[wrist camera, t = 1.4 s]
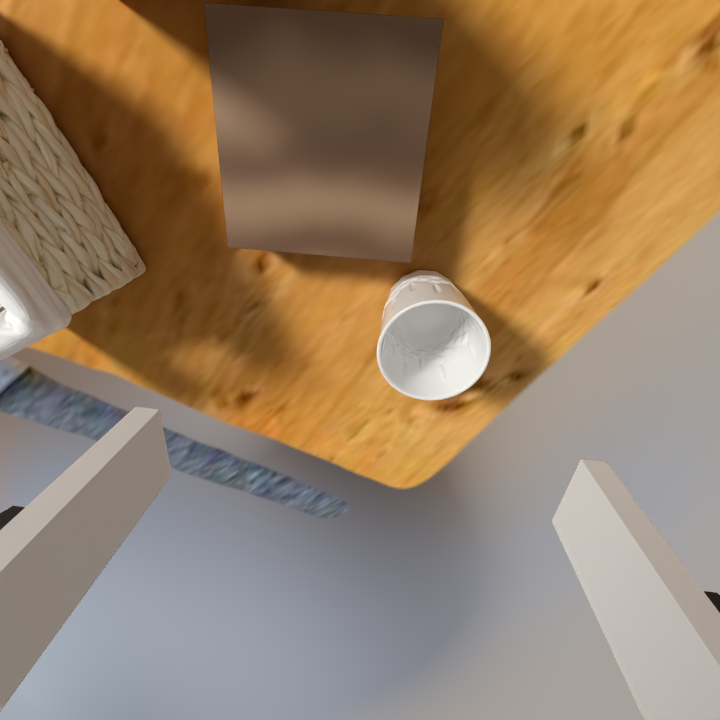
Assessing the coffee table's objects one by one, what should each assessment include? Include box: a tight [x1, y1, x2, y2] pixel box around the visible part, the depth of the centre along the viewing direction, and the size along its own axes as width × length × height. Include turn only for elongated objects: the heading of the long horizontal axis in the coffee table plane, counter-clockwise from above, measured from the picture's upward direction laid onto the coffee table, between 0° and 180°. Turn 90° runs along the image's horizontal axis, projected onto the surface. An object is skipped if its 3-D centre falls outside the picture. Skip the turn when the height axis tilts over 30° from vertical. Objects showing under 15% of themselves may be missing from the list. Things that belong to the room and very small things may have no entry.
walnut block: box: [204, 3, 443, 263], centre depth 27 cm, size 14×14×5 cm
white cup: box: [377, 270, 491, 400], centre depth 30 cm, size 8×8×10 cm
